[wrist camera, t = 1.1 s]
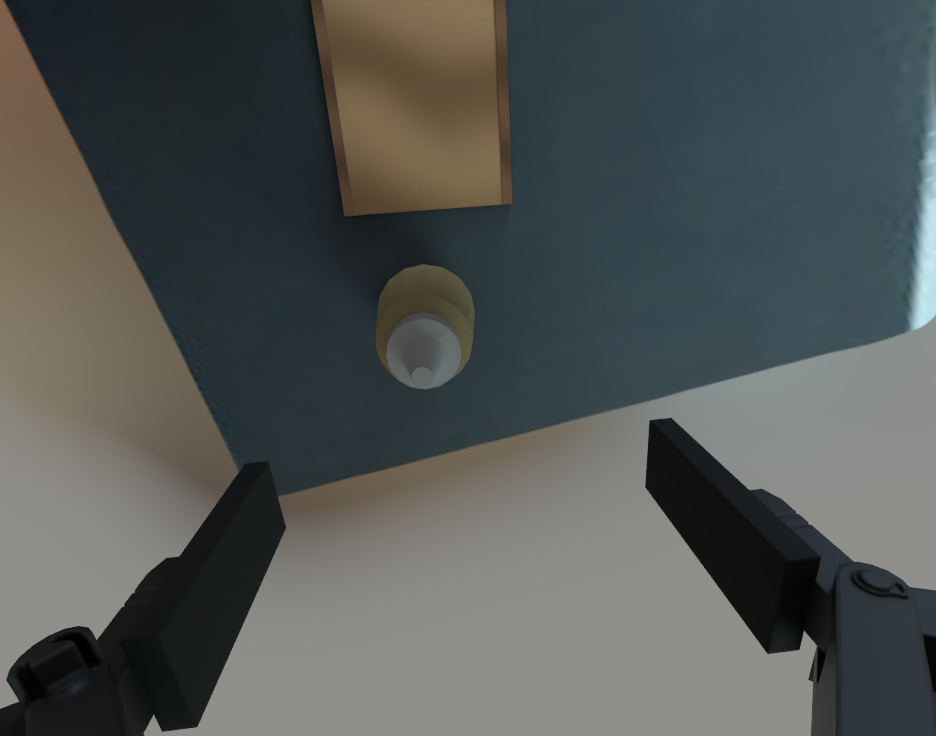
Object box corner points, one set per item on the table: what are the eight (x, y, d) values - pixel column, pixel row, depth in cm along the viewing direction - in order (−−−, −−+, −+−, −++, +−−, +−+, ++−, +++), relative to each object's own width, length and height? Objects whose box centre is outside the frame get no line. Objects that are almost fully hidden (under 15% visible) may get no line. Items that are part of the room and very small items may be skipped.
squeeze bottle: (406, 359, 43) (389, 463, 27) (365, 281, 41) (317, 342, 24) (485, 324, 43) (518, 408, 26) (448, 243, 40) (460, 277, 23)
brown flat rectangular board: (297, -91, 32) (295, -96, 31) (500, -101, 32) (502, -106, 32) (345, 216, 39) (344, 216, 38) (511, 203, 39) (512, 203, 39)
